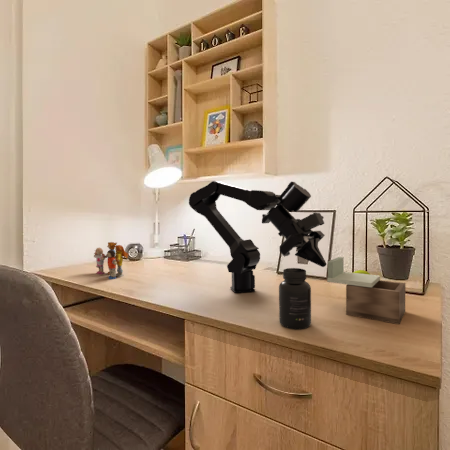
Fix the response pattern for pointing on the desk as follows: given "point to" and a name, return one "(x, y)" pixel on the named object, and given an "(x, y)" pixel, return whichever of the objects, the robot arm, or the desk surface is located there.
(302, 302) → the supplement bottle
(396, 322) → the pencil box
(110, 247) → the doll family
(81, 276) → the desk surface
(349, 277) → the lid
